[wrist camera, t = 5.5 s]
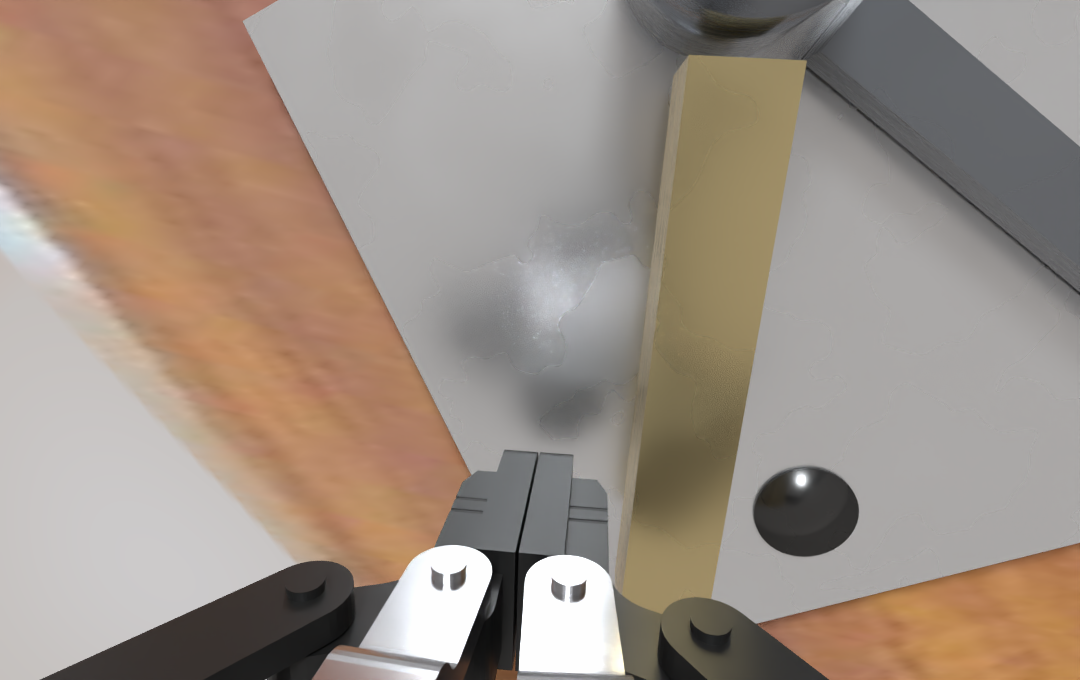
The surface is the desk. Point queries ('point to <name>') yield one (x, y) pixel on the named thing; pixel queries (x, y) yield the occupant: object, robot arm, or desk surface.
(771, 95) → the leg
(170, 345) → the desk surface
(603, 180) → the mounting plate
